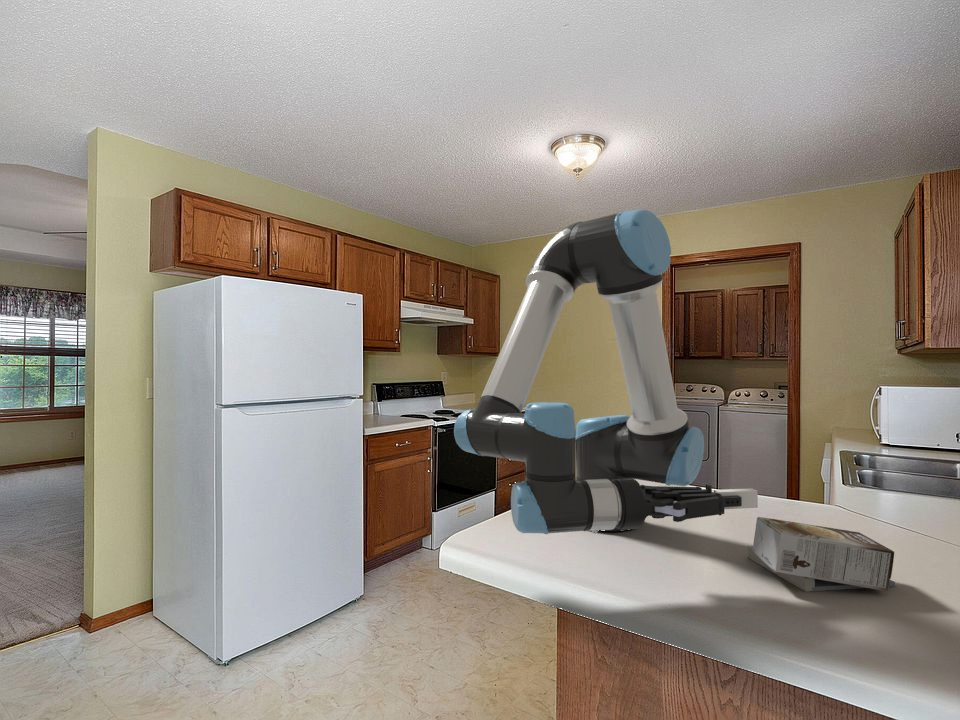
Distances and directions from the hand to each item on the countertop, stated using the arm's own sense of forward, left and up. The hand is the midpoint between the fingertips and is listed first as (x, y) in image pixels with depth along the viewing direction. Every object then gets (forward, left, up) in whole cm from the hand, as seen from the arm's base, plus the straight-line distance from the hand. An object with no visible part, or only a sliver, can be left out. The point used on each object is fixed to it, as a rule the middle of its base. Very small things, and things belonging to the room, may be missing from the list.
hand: (754, 497), depth 83 cm
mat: (-2, +13, -13) cm, 19 cm away
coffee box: (0, +2, -7) cm, 7 cm away
